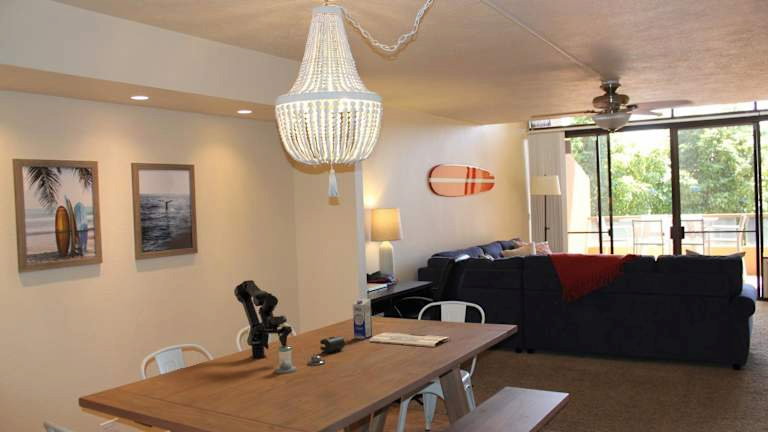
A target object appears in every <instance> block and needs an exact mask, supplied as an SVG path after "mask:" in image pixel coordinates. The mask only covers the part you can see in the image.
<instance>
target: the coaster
mask: <svg viewBox="0 0 768 432" xmlns="http://www.w3.org/2000/svg"><path fill="white" fill-rule="evenodd" d="M274 371H275V373H276V374H291V373H294V372H296V371H297V367H296V366H294V365H292V368H291V369H288V370H280V366H278V367H276V368H275V369H274Z"/></svg>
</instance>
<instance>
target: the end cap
mask: <svg viewBox="0 0 768 432" xmlns="http://www.w3.org/2000/svg"><path fill="white" fill-rule="evenodd" d="M320 345H324V346H320V350H321V354H332V353H334V352H335V353H336V352H338V351H342V350H343V349H344V348H345V345H346V341H345V338H343V337H342V336H341V335H338V336H331V337H329V338H328V339H327V338H324V339H321V340H320Z"/></svg>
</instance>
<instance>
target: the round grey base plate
mask: <svg viewBox="0 0 768 432" xmlns="http://www.w3.org/2000/svg"><path fill="white" fill-rule="evenodd" d="M325 364H326V360H325V359H322V355H312V356H310V360H308V361H307V364H306V365H308V366H316V367H317V366H323V365H325Z"/></svg>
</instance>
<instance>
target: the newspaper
mask: <svg viewBox="0 0 768 432" xmlns="http://www.w3.org/2000/svg"><path fill="white" fill-rule="evenodd" d="M368 340H369V343H377V342H379V343H380V344H389V343H390V344H391V345H401V344H403V345H402V346H413V345H414V346H415V347H428V348H436V344H437V343H439V341H443V342H442V343H445V342H446V341H447V342H449V341H451V340H452V338H451V336H439V335H428V334H427V335H425V334H413V333H410V334H409V333H399V332H382V333H378V334H376V335H374V336H372V337H371V338H369V339H368ZM447 342H446V343H447ZM379 343H378V344H379ZM414 346H413V347H414Z"/></svg>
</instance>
